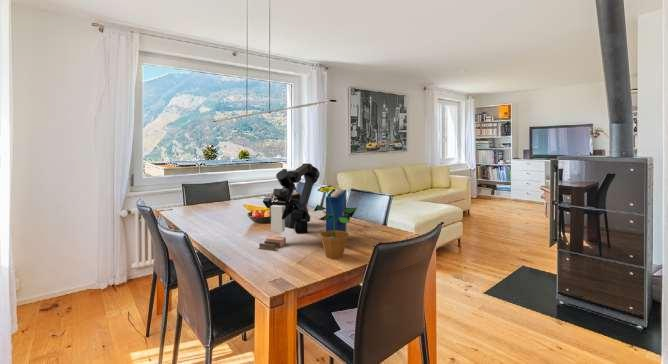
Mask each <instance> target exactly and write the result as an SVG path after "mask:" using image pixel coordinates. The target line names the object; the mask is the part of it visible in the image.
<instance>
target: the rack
mask: <svg viewBox="0 0 668 364" xmlns="http://www.w3.org/2000/svg"><path fill="white" fill-rule="evenodd" d="M287 245H288V243H286V244H285V245H284V246H282V247H280V242H273V241H266V240H264V243H263V242H260V243H259V247H258V248H257V250H262V251H271V252H277V251H278V250H280V249H281V248H283V247H285V246H287Z"/></svg>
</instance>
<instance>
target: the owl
mask: <svg viewBox="0 0 668 364" xmlns="http://www.w3.org/2000/svg"><path fill="white" fill-rule="evenodd" d="M300 197H301V193H300V192H299V191H296V192H293V194H292V199H296V200H300ZM290 200H291V199H290ZM289 202H290V201H289ZM285 208H286V206H284V209H285ZM294 224H295V221H293V220H292V213H290V214H289V215H288V216H287V217H286V218H285V229H286V228H287V229H291V230H294Z"/></svg>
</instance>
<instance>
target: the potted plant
mask: <svg viewBox="0 0 668 364" xmlns="http://www.w3.org/2000/svg"><path fill="white" fill-rule="evenodd" d="M337 188H338V187H337V186H335V185H327V186H320V187H319V188H318V189H317V190H316V191H317V192H321V193H326V194H327V196H328V199H329V195H328V194H329V193H330V192H331V191H333V190H337ZM329 202H330V199H329ZM330 206H331V203H330ZM357 208H358V207H346V209H344V210H342V211H343V212H345V213H346V216H342V217H340V216H339V217H338V219H337V220H338V225H342V224H346V225H347V224H349V223H350V220H351V218H352V217H353V216H354V214H355V212H356V210H357ZM331 209H332V206H331ZM317 211H318V212H319V211H323V212H324V214H325V215H324V216H322V217H320V218H318V220H319V221H325V222H326V220H327V219H329V218H330V217H332V216H333V220H334V230H331V231H326V230H324V231H323V232H320V233H319V235H320V238H321V242H322V246H323V249H324V254H325V257H326V258H327V259H330V260H339V259H343V255H344V253H345V249H346V245H347V242H348V238H349V234H350V233H349V232H347V231H346V232H345V231H338V230H335V223H336V221H337V220H336V221H335V219H334V213H333V209H332V213H333V215H330V214H327V213H326V207H323V206H321V205H320V204H316V206H315V208H314V210H313V212H317ZM341 213H342V212H341ZM340 215H341V214H340Z"/></svg>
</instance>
